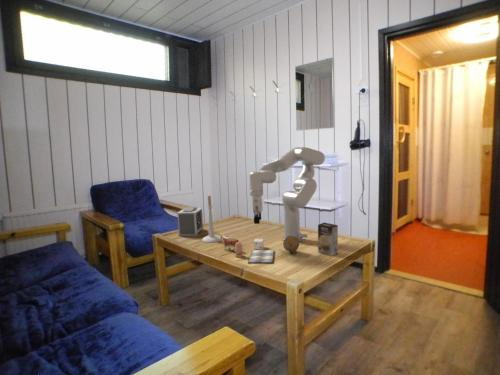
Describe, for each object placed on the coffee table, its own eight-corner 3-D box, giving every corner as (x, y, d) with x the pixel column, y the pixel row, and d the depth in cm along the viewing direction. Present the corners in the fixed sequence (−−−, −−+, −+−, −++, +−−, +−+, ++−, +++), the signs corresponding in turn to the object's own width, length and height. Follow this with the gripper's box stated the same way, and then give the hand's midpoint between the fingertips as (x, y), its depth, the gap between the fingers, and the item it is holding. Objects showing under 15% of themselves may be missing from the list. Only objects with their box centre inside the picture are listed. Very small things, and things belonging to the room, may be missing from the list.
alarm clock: (196, 236, 213) (194, 210, 210) (178, 236, 215) (176, 210, 212) (204, 229, 231) (202, 205, 228) (187, 229, 233) (185, 205, 230)
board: (274, 251, 175) (274, 250, 175) (273, 263, 157) (273, 261, 157) (252, 251, 176) (251, 250, 176) (248, 263, 159) (248, 261, 159)
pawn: (243, 254, 172) (243, 240, 171) (242, 257, 168) (241, 243, 167) (235, 254, 173) (234, 240, 172) (234, 257, 168) (233, 243, 167)
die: (263, 246, 184) (263, 238, 183) (262, 249, 179) (262, 241, 179) (255, 246, 185) (254, 238, 184) (254, 249, 180) (254, 241, 179)
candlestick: (199, 239, 206) (196, 195, 202) (217, 235, 211) (214, 192, 207) (205, 244, 194) (202, 197, 190) (224, 240, 200) (222, 195, 196)
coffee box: (317, 252, 170) (317, 224, 168) (323, 249, 175) (323, 222, 173) (332, 256, 164) (331, 227, 162) (338, 253, 168) (338, 224, 166)
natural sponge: (291, 256, 165) (290, 239, 164) (280, 252, 173) (279, 235, 171) (302, 252, 171) (302, 235, 169) (291, 249, 178) (291, 232, 177)
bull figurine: (224, 246, 187) (223, 233, 186) (240, 250, 179) (240, 237, 177) (219, 248, 184) (218, 235, 183) (235, 253, 175) (235, 239, 174)
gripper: (261, 195, 169) (262, 225, 171) (264, 190, 186) (265, 218, 188) (248, 195, 170) (249, 225, 172) (252, 190, 187) (253, 218, 189)
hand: (257, 221), depth 180 cm, fingers open, 9 cm apart
